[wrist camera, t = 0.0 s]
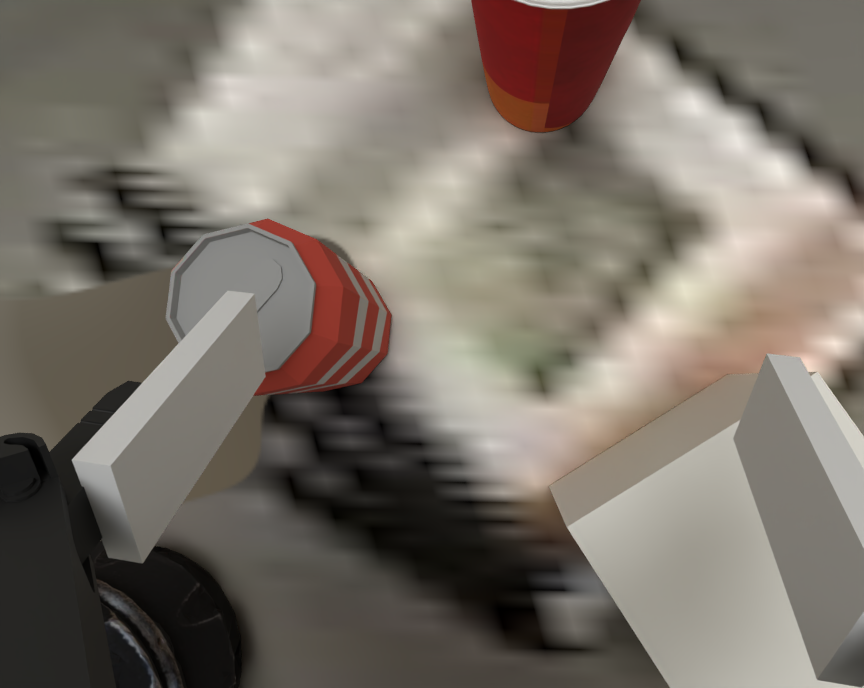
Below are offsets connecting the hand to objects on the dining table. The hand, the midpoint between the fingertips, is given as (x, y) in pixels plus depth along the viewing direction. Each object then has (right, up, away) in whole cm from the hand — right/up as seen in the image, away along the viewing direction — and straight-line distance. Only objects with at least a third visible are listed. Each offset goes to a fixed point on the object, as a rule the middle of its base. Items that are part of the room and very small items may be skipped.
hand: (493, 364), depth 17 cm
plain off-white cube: (+11, -8, +14) cm, 19 cm away
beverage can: (-7, +1, +16) cm, 18 cm away
